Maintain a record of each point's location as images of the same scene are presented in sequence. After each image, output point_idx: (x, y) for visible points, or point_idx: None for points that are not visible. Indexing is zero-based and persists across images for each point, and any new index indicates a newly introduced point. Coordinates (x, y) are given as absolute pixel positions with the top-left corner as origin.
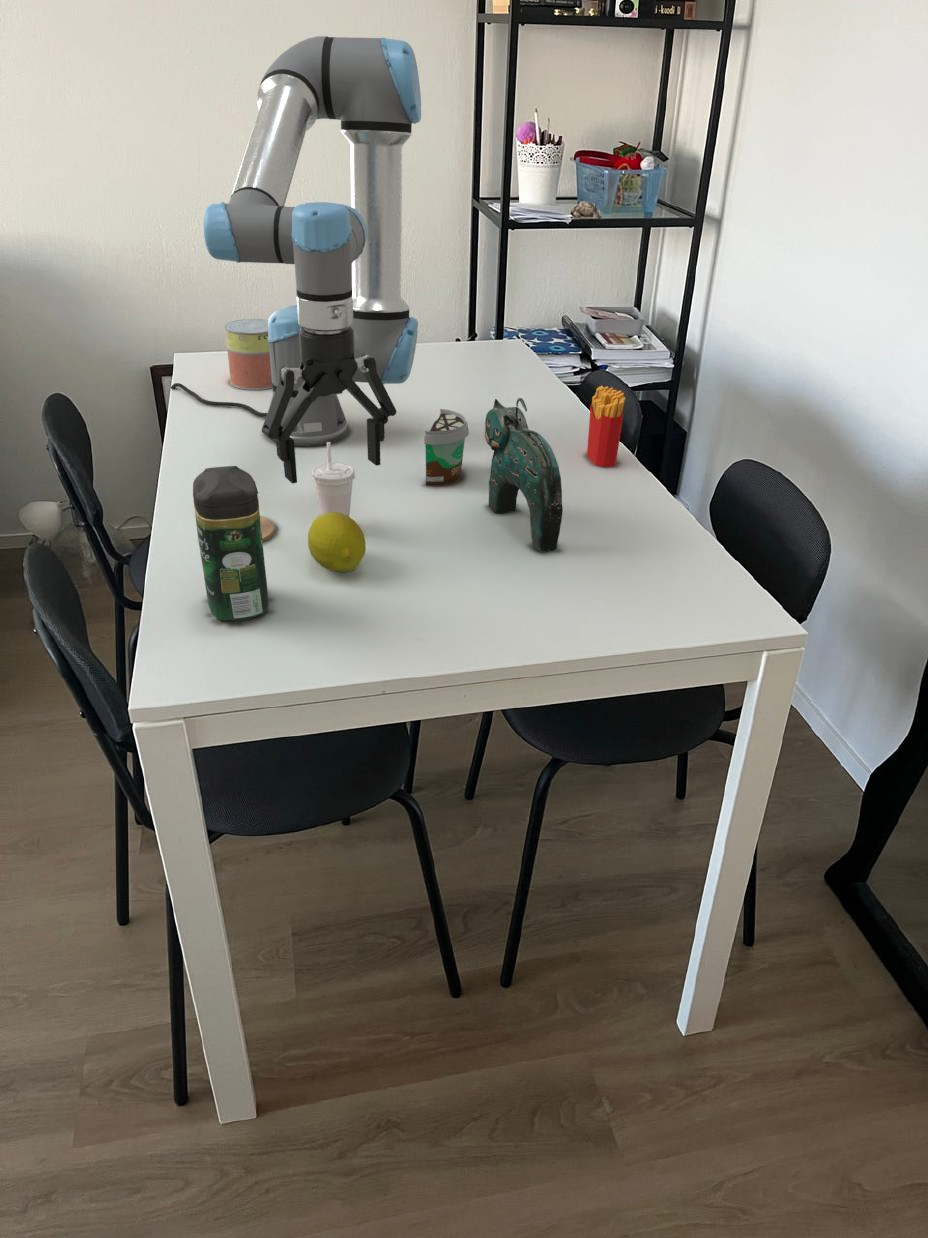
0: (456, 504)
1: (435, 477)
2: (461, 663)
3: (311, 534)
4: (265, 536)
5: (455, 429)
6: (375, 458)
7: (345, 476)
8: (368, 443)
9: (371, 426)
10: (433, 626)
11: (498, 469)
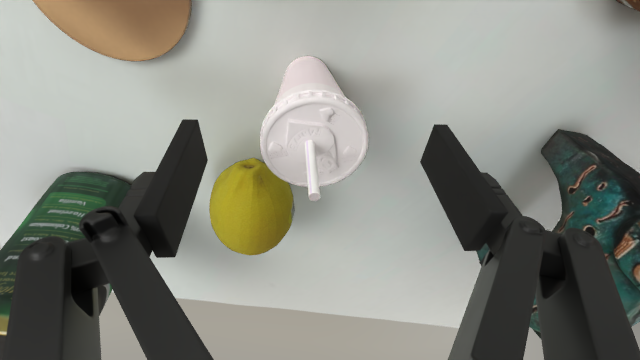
0: (538, 96)
1: (625, 1)
2: (285, 306)
3: (211, 216)
4: (161, 54)
5: None
6: (426, 172)
7: (324, 180)
8: (450, 160)
9: (467, 223)
10: (292, 278)
11: (581, 217)
